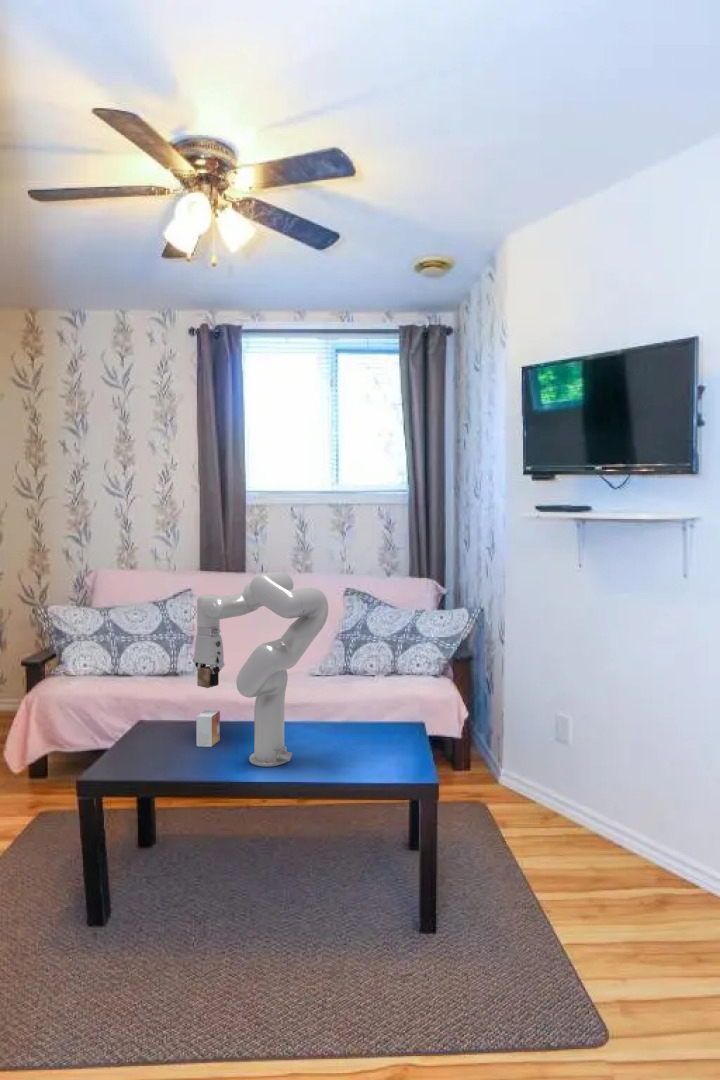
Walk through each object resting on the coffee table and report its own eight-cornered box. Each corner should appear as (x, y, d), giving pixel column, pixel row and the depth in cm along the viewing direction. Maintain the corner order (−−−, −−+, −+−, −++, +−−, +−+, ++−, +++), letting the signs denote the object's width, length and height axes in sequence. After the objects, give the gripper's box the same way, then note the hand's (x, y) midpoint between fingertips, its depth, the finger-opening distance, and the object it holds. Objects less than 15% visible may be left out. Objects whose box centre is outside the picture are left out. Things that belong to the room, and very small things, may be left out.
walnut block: (218, 685, 231) (218, 667, 230) (207, 688, 227) (207, 670, 226) (208, 683, 233) (208, 665, 233) (197, 685, 229) (197, 668, 229)
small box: (211, 747, 226) (211, 716, 226) (195, 746, 227) (196, 715, 227) (220, 740, 234) (220, 710, 234) (205, 739, 235) (205, 709, 235)
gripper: (234, 632, 228) (233, 685, 228) (199, 627, 237) (199, 678, 238) (217, 635, 222) (217, 689, 222) (183, 629, 231) (182, 682, 232)
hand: (208, 683), depth 230 cm, fingers closed on walnut block, 5 cm apart
